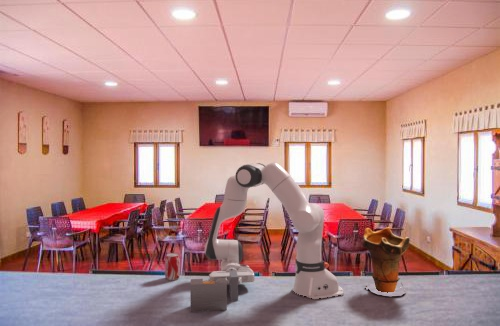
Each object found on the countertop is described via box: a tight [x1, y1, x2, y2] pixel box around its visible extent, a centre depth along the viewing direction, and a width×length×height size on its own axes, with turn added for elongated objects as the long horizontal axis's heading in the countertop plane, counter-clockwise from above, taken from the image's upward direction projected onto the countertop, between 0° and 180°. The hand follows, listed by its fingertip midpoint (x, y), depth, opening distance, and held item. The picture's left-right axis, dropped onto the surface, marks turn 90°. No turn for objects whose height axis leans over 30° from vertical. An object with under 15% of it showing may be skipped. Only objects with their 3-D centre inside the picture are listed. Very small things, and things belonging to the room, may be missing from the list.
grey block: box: [229, 271, 239, 302], centre depth 159 cm, size 3×8×10 cm, turn 8°
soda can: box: [164, 252, 181, 282], centre depth 181 cm, size 7×7×12 cm
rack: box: [189, 278, 228, 313], centre depth 147 cm, size 14×6×12 cm, turn 98°
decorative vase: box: [362, 226, 410, 293], centre depth 166 cm, size 21×23×28 cm
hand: (233, 283), depth 160 cm, fingers closed on grey block, 3 cm apart
